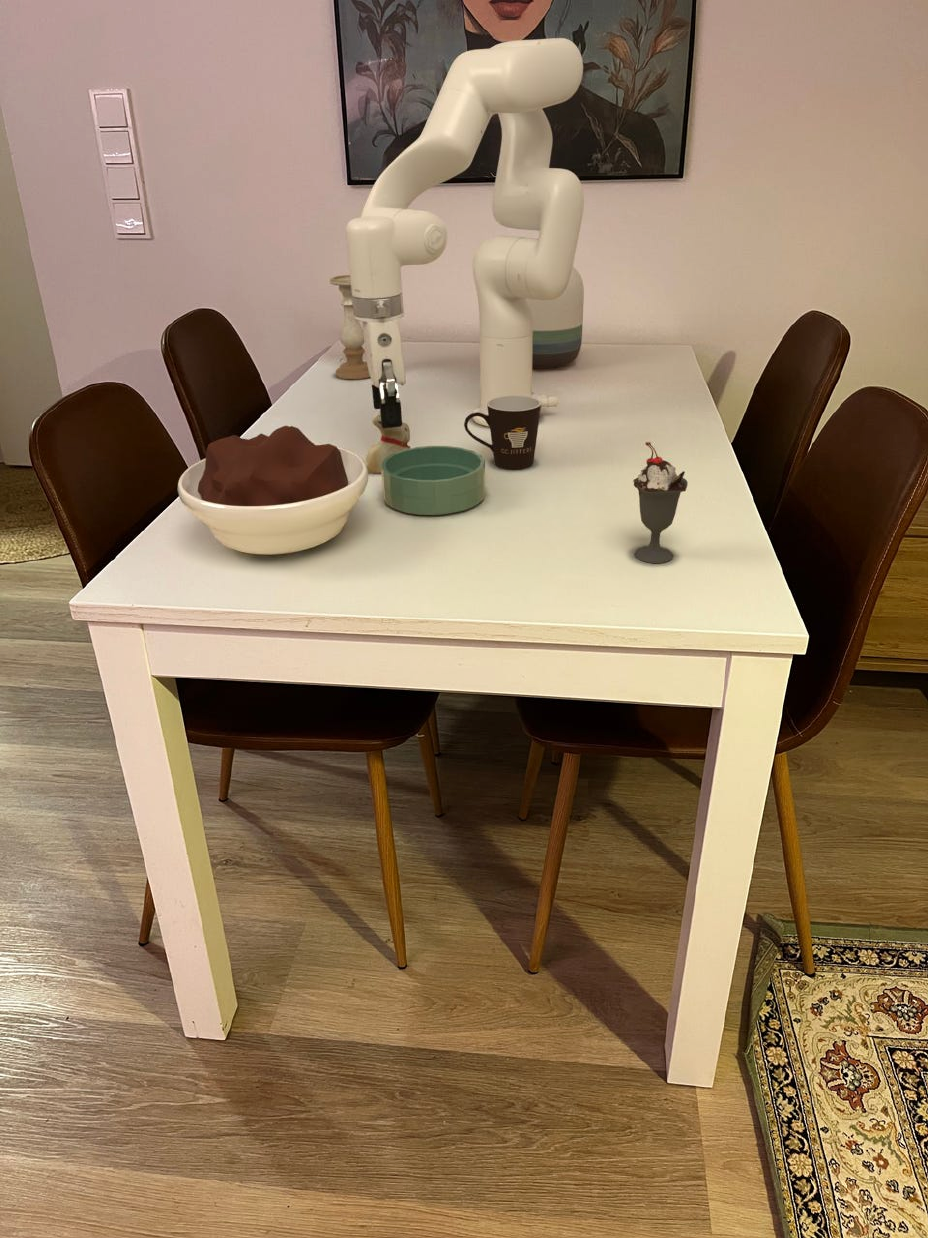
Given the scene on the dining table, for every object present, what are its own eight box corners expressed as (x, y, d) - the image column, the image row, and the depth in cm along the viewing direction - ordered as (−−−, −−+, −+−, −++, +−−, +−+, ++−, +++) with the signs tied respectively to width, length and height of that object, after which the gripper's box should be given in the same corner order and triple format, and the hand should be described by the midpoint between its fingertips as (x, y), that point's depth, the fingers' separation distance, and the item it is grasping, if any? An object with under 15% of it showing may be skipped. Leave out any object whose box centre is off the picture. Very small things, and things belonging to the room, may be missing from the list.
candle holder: (383, 372, 201) (377, 275, 191) (359, 381, 195) (351, 282, 185) (352, 367, 205) (344, 272, 195) (327, 376, 199) (318, 279, 189)
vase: (531, 351, 215) (532, 242, 203) (594, 360, 206) (599, 247, 194) (491, 367, 203) (490, 252, 191) (556, 377, 194) (559, 257, 182)
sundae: (621, 545, 120) (629, 436, 113) (671, 543, 121) (682, 434, 113) (634, 568, 115) (643, 454, 107) (686, 565, 115) (698, 451, 108)
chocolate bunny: (412, 472, 146) (409, 411, 141) (363, 474, 146) (358, 413, 141) (411, 460, 151) (408, 401, 146) (364, 462, 151) (359, 403, 146)
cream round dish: (343, 584, 112) (331, 468, 105) (156, 572, 116) (132, 460, 109) (392, 507, 134) (385, 406, 126) (232, 499, 138) (217, 401, 130)
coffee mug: (545, 456, 151) (547, 397, 146) (532, 474, 144) (533, 412, 139) (479, 450, 154) (478, 392, 150) (463, 467, 147) (461, 407, 142)
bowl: (472, 475, 144) (472, 441, 142) (495, 511, 131) (495, 475, 129) (378, 484, 142) (375, 450, 139) (391, 522, 129) (389, 485, 126)
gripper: (412, 316, 130) (419, 432, 138) (394, 293, 144) (402, 399, 153) (359, 321, 128) (371, 437, 137) (347, 297, 143) (358, 403, 152)
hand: (387, 417), depth 145 cm, fingers open, 9 cm apart
